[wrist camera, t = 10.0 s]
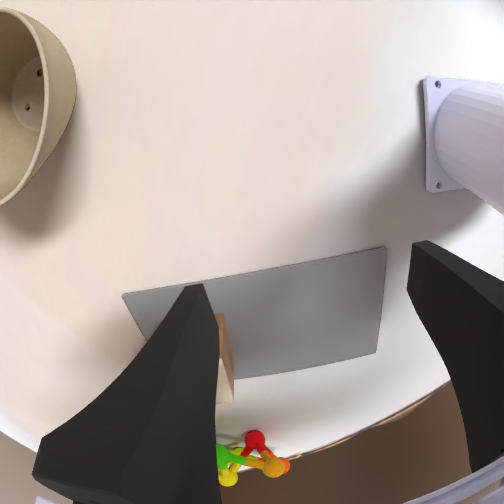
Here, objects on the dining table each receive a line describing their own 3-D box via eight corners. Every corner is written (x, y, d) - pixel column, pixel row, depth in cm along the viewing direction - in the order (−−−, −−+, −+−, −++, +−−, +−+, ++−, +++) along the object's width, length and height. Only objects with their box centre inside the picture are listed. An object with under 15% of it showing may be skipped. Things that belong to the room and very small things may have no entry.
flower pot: (95, 178, 18) (37, 232, 12) (-12, 151, 16) (-76, 190, 9) (133, 23, 13) (75, 0, 7) (10, 19, 11) (-63, 19, 5)
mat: (385, 246, 21) (386, 248, 21) (374, 350, 28) (375, 352, 27) (122, 293, 23) (121, 296, 22) (175, 382, 29) (175, 385, 29)
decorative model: (290, 472, 37) (192, 498, 34) (270, 423, 43) (177, 448, 40) (301, 468, 27) (169, 502, 24) (274, 402, 33) (150, 433, 30)
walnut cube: (149, 368, 19) (161, 318, 24) (171, 404, 22) (178, 358, 26) (221, 365, 19) (223, 313, 23) (233, 402, 22) (233, 354, 26)
